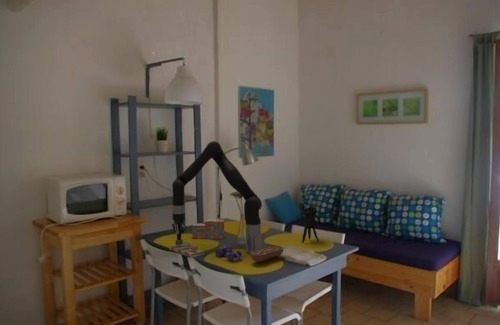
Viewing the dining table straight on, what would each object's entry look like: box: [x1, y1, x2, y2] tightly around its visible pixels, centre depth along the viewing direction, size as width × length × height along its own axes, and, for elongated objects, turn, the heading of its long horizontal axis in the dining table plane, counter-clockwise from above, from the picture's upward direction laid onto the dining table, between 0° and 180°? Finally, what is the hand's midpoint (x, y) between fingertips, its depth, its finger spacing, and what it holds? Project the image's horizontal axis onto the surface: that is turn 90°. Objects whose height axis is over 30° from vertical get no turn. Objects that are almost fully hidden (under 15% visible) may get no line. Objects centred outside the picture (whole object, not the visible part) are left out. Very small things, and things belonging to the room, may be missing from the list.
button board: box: [169, 244, 205, 258], centre depth 243 cm, size 24×9×2 cm, turn 42°
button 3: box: [175, 239, 184, 245], centre depth 249 cm, size 4×4×3 cm
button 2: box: [183, 241, 191, 247], centre depth 243 cm, size 4×4×3 cm
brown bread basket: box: [249, 245, 284, 263], centre depth 229 cm, size 23×10×5 cm, turn 133°
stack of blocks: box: [191, 218, 225, 240], centre depth 277 cm, size 21×6×12 cm, turn 85°
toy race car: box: [215, 242, 244, 262], centre depth 233 cm, size 10×15×6 cm, turn 48°
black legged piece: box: [300, 203, 321, 244], centre depth 261 cm, size 19×12×25 cm, turn 138°
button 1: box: [190, 243, 199, 250], centre depth 237 cm, size 4×4×3 cm
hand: (179, 239), depth 249 cm, fingers closed
